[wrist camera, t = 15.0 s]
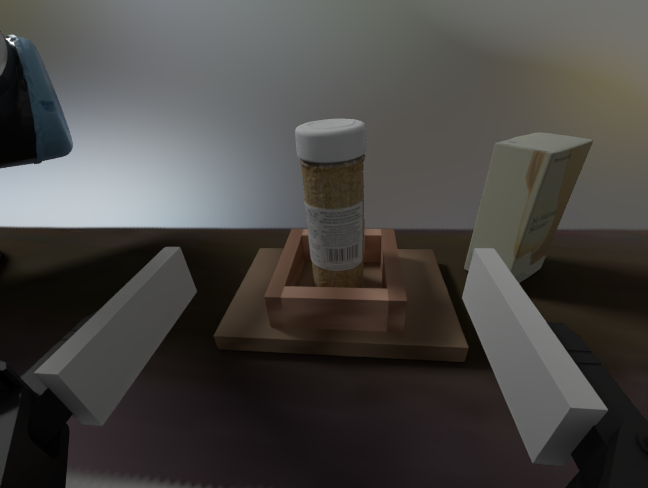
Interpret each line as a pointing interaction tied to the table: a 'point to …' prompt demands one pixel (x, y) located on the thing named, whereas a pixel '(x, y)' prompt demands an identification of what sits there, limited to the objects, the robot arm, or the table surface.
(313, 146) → the sprinkles bottle
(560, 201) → the skincare box
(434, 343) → the collar plate
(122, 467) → the table surface
